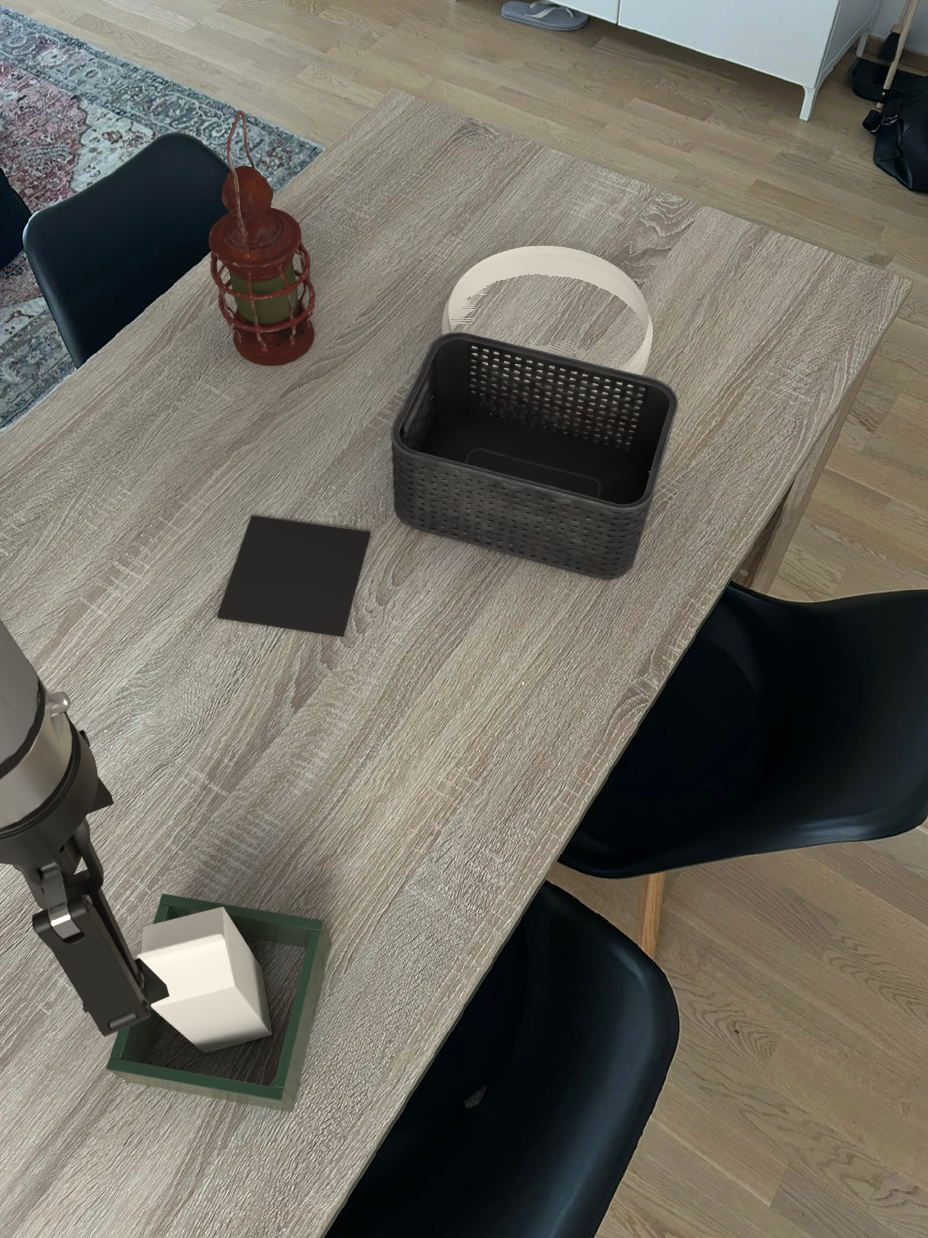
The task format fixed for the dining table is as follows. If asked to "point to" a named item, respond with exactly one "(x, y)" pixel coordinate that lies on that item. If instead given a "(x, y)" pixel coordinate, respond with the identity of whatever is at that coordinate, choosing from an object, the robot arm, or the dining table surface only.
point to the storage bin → (530, 454)
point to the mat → (295, 576)
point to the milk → (207, 980)
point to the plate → (552, 264)
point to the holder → (314, 937)
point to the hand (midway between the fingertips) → (118, 899)
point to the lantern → (261, 268)
